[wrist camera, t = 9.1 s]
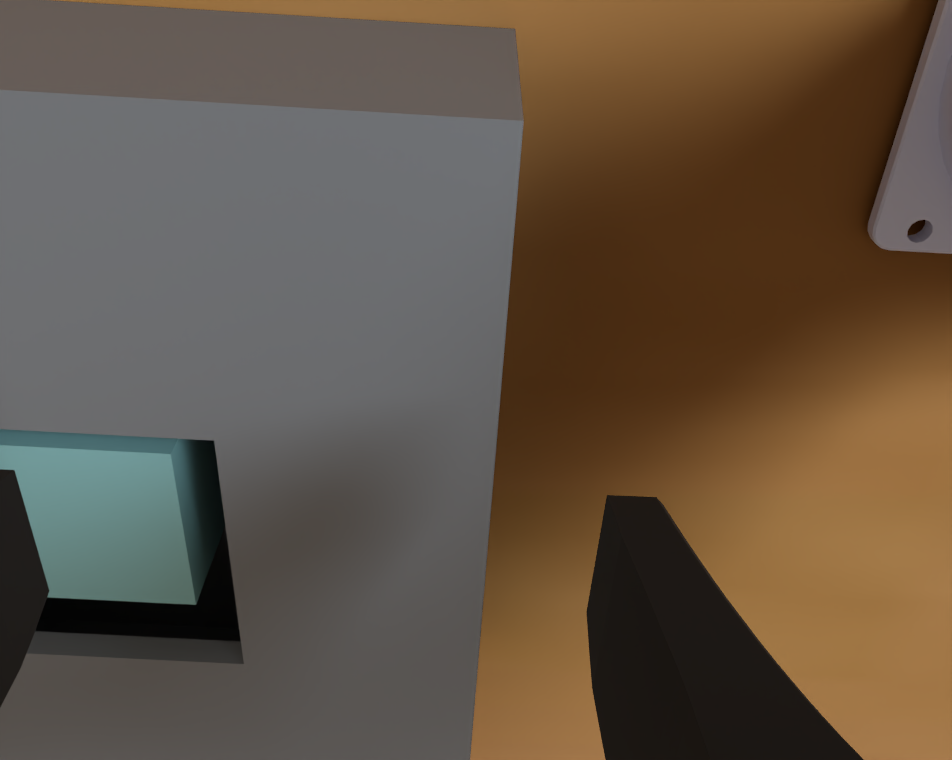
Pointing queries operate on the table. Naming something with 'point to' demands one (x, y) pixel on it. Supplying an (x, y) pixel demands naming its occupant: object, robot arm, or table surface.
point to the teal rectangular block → (119, 512)
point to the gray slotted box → (265, 362)
